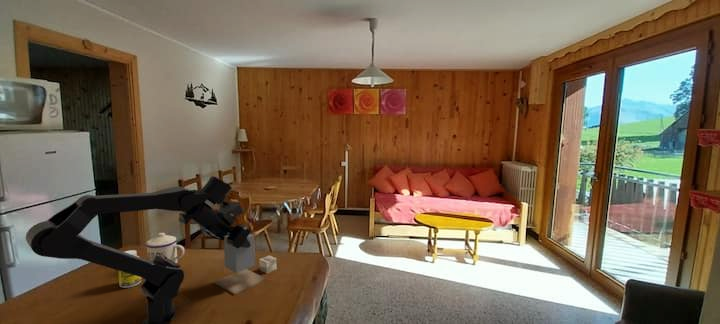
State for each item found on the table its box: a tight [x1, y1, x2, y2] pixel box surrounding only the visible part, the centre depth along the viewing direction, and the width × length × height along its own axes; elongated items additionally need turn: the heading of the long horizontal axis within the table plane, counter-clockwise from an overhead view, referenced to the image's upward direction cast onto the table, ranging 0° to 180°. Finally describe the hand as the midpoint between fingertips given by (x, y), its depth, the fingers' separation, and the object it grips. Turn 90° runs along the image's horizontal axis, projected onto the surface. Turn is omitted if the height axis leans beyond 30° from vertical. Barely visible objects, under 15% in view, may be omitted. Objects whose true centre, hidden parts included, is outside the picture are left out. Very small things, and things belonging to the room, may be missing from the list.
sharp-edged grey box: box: [223, 233, 256, 273], centre depth 96 cm, size 6×6×10 cm
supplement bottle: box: [117, 249, 142, 289], centre depth 94 cm, size 6×6×10 cm
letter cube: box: [259, 255, 278, 274], centre depth 106 cm, size 4×4×4 cm
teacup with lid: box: [145, 232, 185, 264], centre depth 107 cm, size 12×9×12 cm
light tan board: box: [214, 268, 267, 296], centre depth 97 cm, size 11×11×1 cm
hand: (243, 243), depth 97 cm, fingers closed on sharp-edged grey box, 6 cm apart
